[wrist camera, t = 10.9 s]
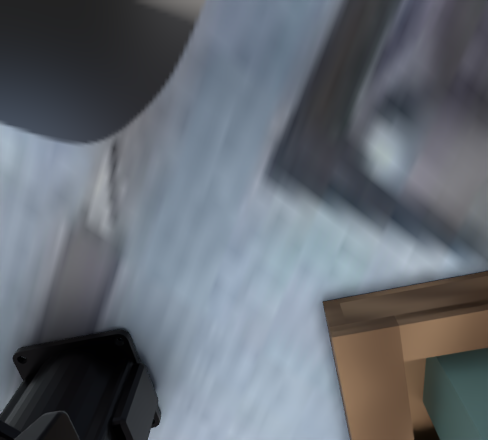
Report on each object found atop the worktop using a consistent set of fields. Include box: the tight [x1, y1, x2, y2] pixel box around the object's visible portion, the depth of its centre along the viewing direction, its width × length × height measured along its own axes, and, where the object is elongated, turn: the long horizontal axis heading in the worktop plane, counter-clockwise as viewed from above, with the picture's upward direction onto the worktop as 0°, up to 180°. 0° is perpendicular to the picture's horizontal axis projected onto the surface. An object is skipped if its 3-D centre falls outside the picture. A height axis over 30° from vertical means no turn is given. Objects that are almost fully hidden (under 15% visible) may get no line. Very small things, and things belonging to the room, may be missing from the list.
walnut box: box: [323, 271, 488, 440], centre depth 23 cm, size 13×11×3 cm
